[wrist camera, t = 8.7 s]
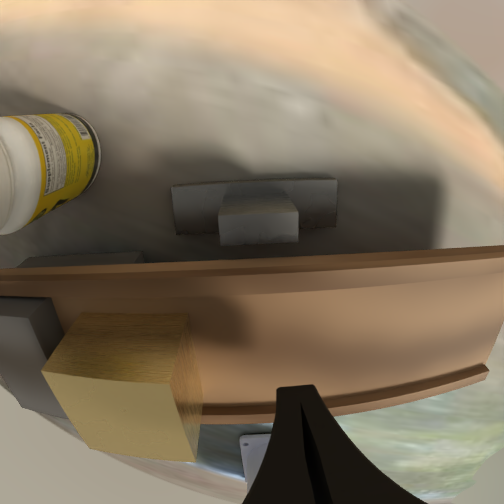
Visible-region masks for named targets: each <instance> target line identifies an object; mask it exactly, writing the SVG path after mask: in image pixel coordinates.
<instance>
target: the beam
mask: <svg viewBox="0 0 504 504" xmlns="http://www.w3.org/2000/svg"><path fill="white" fill-rule="evenodd" d="M81 312H89V313H188V317H189V322H190V328H191V334H192V339H193V344H194V350H195V355H196V360H197V365H198V370H199V375H200V380H201V384H202V389H203V394H204V399H203V407H202V415H201V423H200V424H256V423H274V419H275V413H276V389H277V388H279V387H286V386H298V385H309V384H313V385H315V387H316V389H317V391H318V393H319V394H320V396H321V398H322V400H323V401H324V403H325V405H326V406H327V408H328V410H329V411H330V413H331V414H332V416H333V417H334V416H341V415H347V414H353V413H359V412H365V411H371V410H376V409H381V408H386V407H391V406H395V405H400V404H404V403H408V402H412V401H416V400H420V399H424V398H428V397H432V396H435V395H439V394H442V393H446V392H449V391H453V390H456V389H459V388H462V387H465V386H468V385H471V384H474V383H477V382H480V381H483V380H485V378H486V376H487V374H488V372H489V369H488V368H487V367H486V366H485V364H486V362H487V359H488V357H489V355H490V353H491V351H492V348H493V346H494V344H495V341H496V339H497V336H498V334H499V331H500V329H501V326H502V324H503V321H504V245H499V246H483V247H466V248H448V249H431V250H413V251H395V252H376V253H357V254H337V255H318V256H297V257H277V258H256V259H234V260H212V261H189V262H166V263H144V259H143V253H142V251H136V252H117V253H99V254H80V255H62V256H45V257H29V258H28V259H26V260H25V261H24V262H23V263H21V264H20V265H19V266H18V267H16V268H9V269H0V373H1V375H2V377H3V378H4V380H5V382H6V383H7V385H8V387H9V388H10V390H11V391H12V393H13V395H14V396H15V398H16V399H17V401H18V402H19V404H20V405H21V407H22V408H26V409H29V410H33V411H37V412H40V413H44V414H48V415H52V416H57V417H61V418H66V419H69V418H68V416H67V415H66V413H65V412H64V410H63V408H62V407H61V405H60V404H59V402H58V400H57V399H56V397H55V395H54V393H53V392H52V390H51V388H50V386H49V385H48V383H47V381H46V379H45V377H44V376H43V374H42V372H41V370H42V368H43V367H44V365H45V364H46V362H47V361H48V359H49V358H50V356H51V355H52V353H53V352H54V350H55V349H56V347H57V346H58V345H59V343H60V342H61V340H62V339H63V337H64V336H65V334H66V333H67V332H68V330H69V329H70V327H71V326H72V325H73V323H74V322H75V321H76V319H77V318H78V316H79V315H80V314H81Z"/></svg>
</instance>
